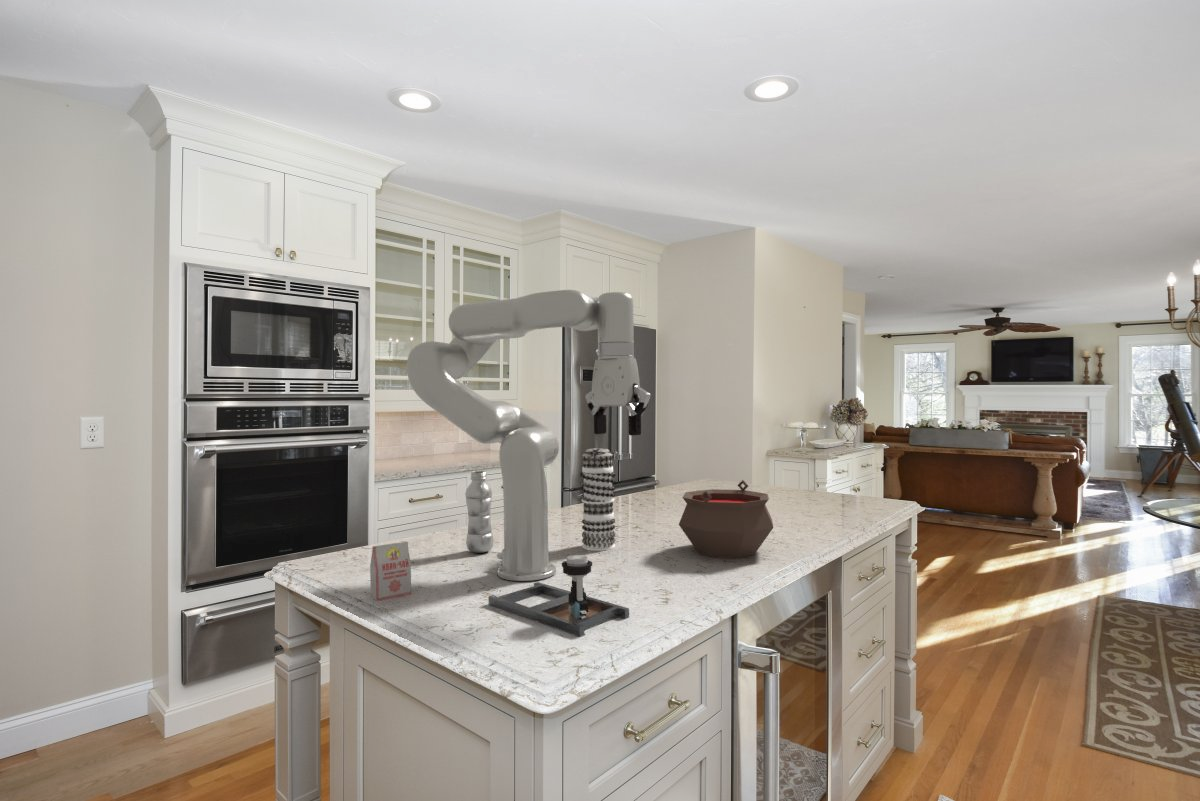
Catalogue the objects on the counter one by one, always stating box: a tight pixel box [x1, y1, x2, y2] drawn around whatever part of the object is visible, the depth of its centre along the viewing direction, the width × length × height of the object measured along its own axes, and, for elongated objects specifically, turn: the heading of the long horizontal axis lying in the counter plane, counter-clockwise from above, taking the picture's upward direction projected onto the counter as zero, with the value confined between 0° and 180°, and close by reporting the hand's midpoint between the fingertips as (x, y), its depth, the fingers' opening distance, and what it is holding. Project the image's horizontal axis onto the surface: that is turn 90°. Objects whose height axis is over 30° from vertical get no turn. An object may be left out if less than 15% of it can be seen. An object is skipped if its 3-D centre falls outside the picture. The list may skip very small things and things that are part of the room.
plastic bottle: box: [464, 470, 495, 554], centre depth 157 cm, size 6×7×20 cm
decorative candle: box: [579, 447, 617, 552], centre depth 161 cm, size 9×9×25 cm
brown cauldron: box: [678, 479, 774, 559], centre depth 155 cm, size 24×24×16 cm
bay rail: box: [487, 581, 630, 638], centre depth 113 cm, size 24×12×2 cm, turn 47°
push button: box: [561, 554, 593, 619], centre depth 109 cm, size 7×5×10 cm
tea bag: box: [369, 541, 412, 602], centre depth 124 cm, size 4×7×10 cm, turn 126°
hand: (617, 434), depth 132 cm, fingers open, 9 cm apart
